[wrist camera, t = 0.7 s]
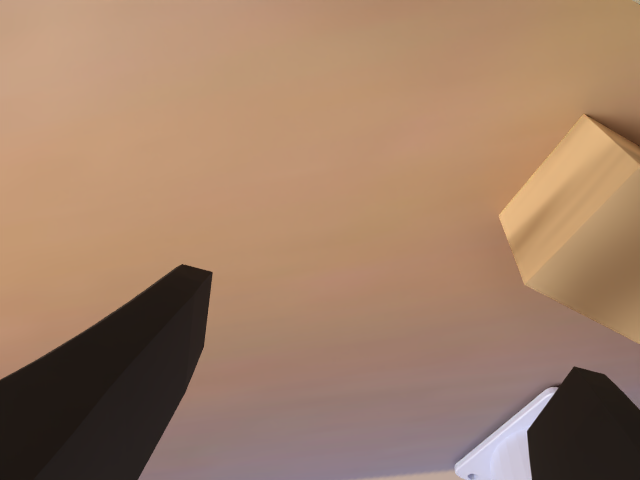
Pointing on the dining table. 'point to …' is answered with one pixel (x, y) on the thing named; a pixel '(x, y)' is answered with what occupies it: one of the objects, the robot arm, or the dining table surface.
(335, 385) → the dining table surface
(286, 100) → the dining table surface
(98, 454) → the robot arm
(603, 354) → the dining table surface
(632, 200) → the oak cube
